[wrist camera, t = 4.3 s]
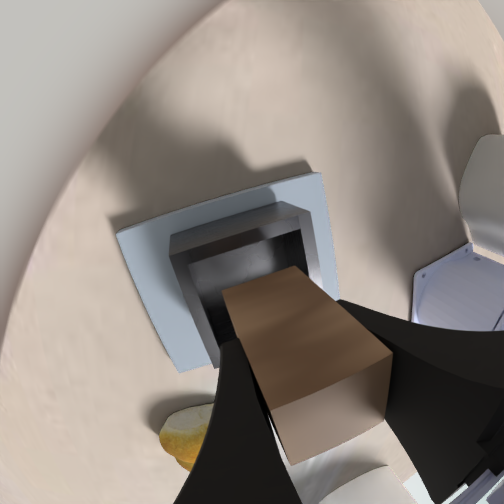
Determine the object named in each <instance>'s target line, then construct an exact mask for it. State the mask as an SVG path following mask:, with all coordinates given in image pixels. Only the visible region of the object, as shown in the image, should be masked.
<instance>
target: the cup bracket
mask: <svg viewBox="0 0 504 504" xmlns="http://www.w3.org/2000/svg"><path fill="white" fill-rule="evenodd" d="M169 259H170V261H171V264H172V267H173V270H174V272H175V275H176V278H177V280H178V283H179V285H180V288H181V291H182V293H183V296H184V298H185V301H186V303H187V306H188V308H189V311H190V313H191V316H192V318H193V321H194V323H195V325H196V328H197V330H198V333H199V335H200V337H201V340H202V342H203V344H204V346H205V349H206V351H207V353H208V356H209V358H210V360H211V362H212V364H213V367H214V369H215V368H219V367H220V346H221V344H222V343H225V342H228V341H231V340H234V339H237V335H236V333H235V330H234V327H233V324H232V321H231V318H230V315H229V312H228V309H227V306H226V303H225V300H224V297H223V294H222V291H221V290H224V289H227V288H230V287H233V286H236V285H239V284H242V283H245V282H248V281H251V280H254V279H257V278H260V277H263V276H266V275H269V274H272V273H274V272H277V271H280V270H283V269H286V268H289V267H292V266H296V267H297V268H298V269H300V270H301V271H302V272H303V273H304V274H305V275H306V276H308V277H309V278H310V279H311V280H312V281H313V282H314V283H316V284H317V285H318V286H319V287H320V288H321V289H322V290H323V284H322V277H321V271H320V264H319V258H318V252H317V246H316V240H315V234H314V228H313V223H312V217H311V212H310V211H308V210H305V209H303V208H300V207H297V206H295V205H292V204H290V203H287V202H284V201H278V202H275V203H271V204H268V205H264V206H261V207H257V208H254V209H251V210H247V211H244V212H241V213H237V214H234V215H231V216H227V217H224V218H221V219H218V220H214V221H211V222H208V223H205V224H202V225H198V226H195V227H192V228H189V229H186V230H183V231H180V232H177V233H174V234H171V235H170V244H169Z"/></svg>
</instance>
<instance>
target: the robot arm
mask: <svg viewBox="0 0 504 504" xmlns="http://www.w3.org/2000/svg"><path fill="white" fill-rule="evenodd" d="M336 302H337V303H338V304H339V305H340V306H342V307H343V308H344V309H345V310H346V311H347V312H348V313H349V314H351V315H352V316H353V317H354V318H355V319H356V320H357V321H358V322H359V323H361V324H362V325H363V326H364V327H365V328H366V329H367V330H368V331H369V332H371V333H372V334H373V335H374V336H375V337H376V338H377V339H378V340H379V341H381V342H382V343H383V344H384V345H385V346H386V347H387V348H388V349H389V350H390V351H391V352H393V358H392V367H391V376H390V384H389V392H388V398H387V405H386V411H385V417H384V419H385V420H386V422H387V423H388V425H389V426H390V428H391V429H392V430H393V432H394V433H395V435H396V436H397V438H398V440H399V441H400V443H401V444H402V446H403V448H404V449H405V451H406V452H407V454H408V456H409V457H410V459H411V461H412V463H413V464H414V466H415V468H416V470H417V471H418V473H419V475H420V477H421V479H422V481H423V483H424V485H425V487H426V489H427V491H428V493H429V495H430V498H431V499H432V501H433V502H434V503H435V504H442V503H443V502H444V501H446V499H448V498H449V497H451V496H452V495H453V494H454V493H455V492H456V491H458V490H459V489H460V488H461V487H462V486H464V485H465V484H467V486H468V488H467V489H466V490H465V491H464V492H462V494H460V495H459V496H458V497H457V498H456V499H454V500H453V501H452V502H451V503H449V504H476V503H477V502H478V501H479V500H480V499H481V498H482V497H483V496H484V495H485V494H486V493H487V492H488V491H489V490H490V489H491V488H492V487H493V486H494V485H495V484H496V483H497V482H498V481H499V480H500V479H501V478H502V477H503V476H504V265H503V264H500V263H498V262H496V261H494V260H491V259H489V258H487V257H484V256H482V255H480V254H477V253H475V252H473V243H471V242H469V243H467V244H466V245H464V246H462V247H460V248H459V249H457V250H455V251H454V252H452V253H450V254H448V255H446V256H445V257H443V258H441V259H439V260H437V261H436V262H434V263H432V264H430V265H428V266H426V267H425V268H423V269H421V270H419V271H417V272H416V273H415V275H414V289H413V307H412V320H411V322H410V321H406V320H403V319H399V318H396V317H392V316H389V315H386V314H383V313H380V312H377V311H374V310H371V309H368V308H365V307H362V306H359V305H357V304H354V303H351V302H348V301H345V300H341V299H339V300H337V301H336ZM487 502H488V503H489V504H504V480H502V481H501V482H500V483H499V484H498V486H497V487H496V488H495V489H494V490H493V491H492V493H491V494H490V495H489V496H488V497H487ZM173 504H302V502H301V500H300V498H299V496H298V494H297V492H296V489H295V487H294V485H293V483H292V481H291V479H290V476H289V474H288V472H287V470H286V467H285V465H284V463H283V461H282V458H281V456H280V453H279V449H278V446H277V443H276V440H275V437H274V433H273V430H272V427H271V423H270V420H269V417H268V413H267V411H266V408H265V405H264V403H263V400H262V397H261V395H260V392H259V389H258V386H257V384H256V381H255V378H254V375H253V373H252V370H251V367H250V364H249V361H248V358H247V356H246V353H245V351H244V349H243V346H242V344H241V342H240V339H239V338H237V339H234V340H231V341H228V342H225V343H222V344H221V346H220V368H219V377H218V384H217V391H216V396H215V400H214V405H213V409H212V413H211V417H210V421H209V425H208V428H207V431H206V434H205V437H204V440H203V443H202V446H201V448H200V451H199V453H198V456H197V458H196V460H195V463H194V465H193V467H192V470H191V472H190V474H189V476H188V478H187V480H186V481H185V483H184V485H183V487H182V489H181V491H180V493H179V494H178V496H177V498H176V500H175V501H174V503H173Z"/></svg>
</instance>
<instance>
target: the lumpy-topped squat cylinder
mask: <svg viewBox="0 0 504 504" xmlns="http://www.w3.org/2000/svg"><path fill="white" fill-rule="evenodd" d="M459 208H460V212H461V215H462V217H463V218H464V220H465V221H466V223H467V224H468V226H469V229H470V232H471V236H472V240H473V242H474V244H475V245H476V246H479V247H481V248H484V249H486V250H489V251H491V252H494V253H496V254H498V255H501V256H503V257H504V135H497V134H488V135H485V136H483V137H481V138H480V139H479V141H478V142H477V144H476V146H475V148H474V150H473V152H472V154H471V156H470V159H469V161H468V164H467V166H466V169H465V171H464V174H463V177H462V180H461V184H460V190H459Z"/></svg>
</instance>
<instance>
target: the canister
mask: <svg viewBox="0 0 504 504" xmlns="http://www.w3.org/2000/svg"><path fill="white" fill-rule="evenodd" d="M319 504H418V503H417V502H416V501H415V499H414V498H413V497H412V495H411V494H410V493H409V491H408V490H407V489H406V487H405V486H404V485H403V483H402V482H401V481H400V479H399V478H398V477H397V475H396V474H395V473H394V471H393V470H392V469H391V467H389V466H382V467H379V468H376V469H374V470H371V471H369V472H367V473H365V474H362V475H361V476H359V477H357V478H355V479H353V480H351V481H349V482H348V483H346V484H344V485H342V486H341V487H339V488H337V489H336V490H334V491H333V492H331V493H330V494H328V495H327V496H326V497H325V498H324V499H322V500H321V501H320V503H319Z"/></svg>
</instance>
